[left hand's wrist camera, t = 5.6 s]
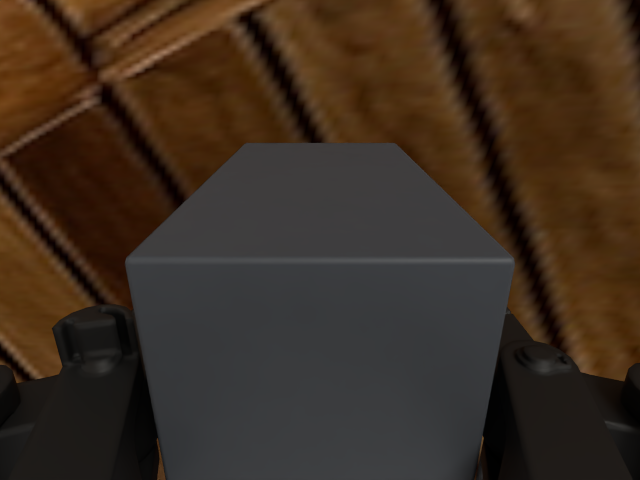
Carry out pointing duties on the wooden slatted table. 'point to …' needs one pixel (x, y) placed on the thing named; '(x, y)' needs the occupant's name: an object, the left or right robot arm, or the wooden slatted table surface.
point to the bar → (320, 320)
